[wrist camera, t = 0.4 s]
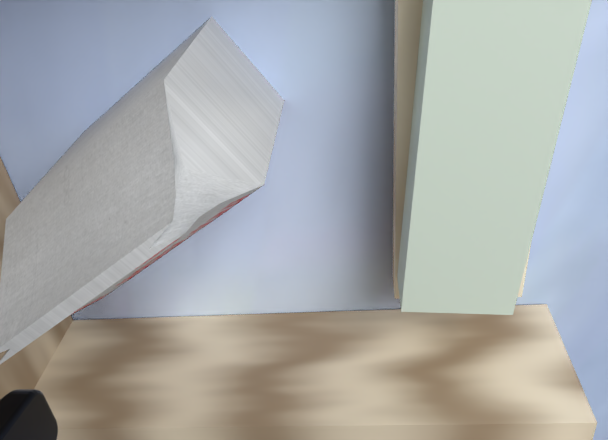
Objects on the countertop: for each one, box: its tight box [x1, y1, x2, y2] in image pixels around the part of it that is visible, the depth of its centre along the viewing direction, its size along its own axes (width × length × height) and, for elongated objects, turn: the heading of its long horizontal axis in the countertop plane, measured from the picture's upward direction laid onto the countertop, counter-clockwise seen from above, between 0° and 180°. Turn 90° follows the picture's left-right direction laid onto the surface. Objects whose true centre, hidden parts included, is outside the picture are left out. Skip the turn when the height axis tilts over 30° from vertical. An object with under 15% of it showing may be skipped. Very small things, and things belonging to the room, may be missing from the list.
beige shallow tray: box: [0, 157, 597, 440], centre depth 18 cm, size 23×22×6 cm
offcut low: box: [393, 0, 531, 299], centre depth 19 cm, size 5×16×2 cm, turn 4°
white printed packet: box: [0, 17, 284, 364], centre depth 17 cm, size 4×7×10 cm, turn 129°
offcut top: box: [397, 0, 592, 315], centre depth 18 cm, size 4×14×2 cm, turn 1°
